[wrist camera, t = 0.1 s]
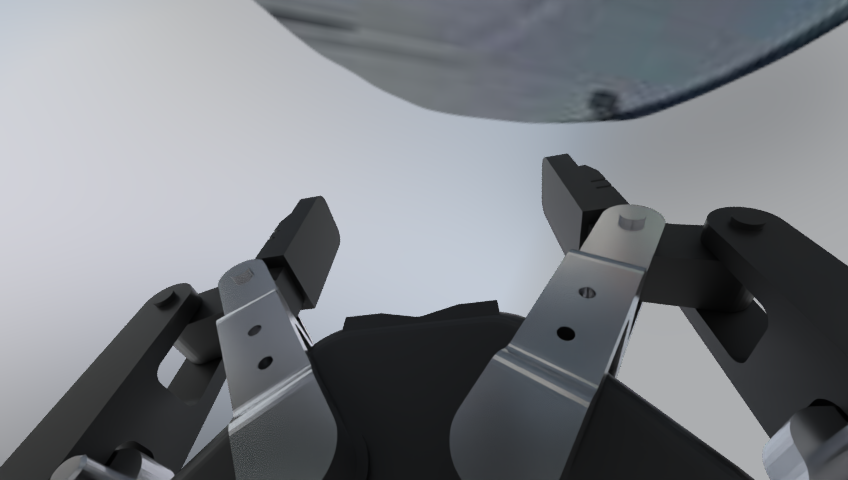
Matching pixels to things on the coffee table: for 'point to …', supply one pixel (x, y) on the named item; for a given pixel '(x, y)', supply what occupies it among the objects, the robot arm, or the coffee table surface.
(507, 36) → the coffee table surface
